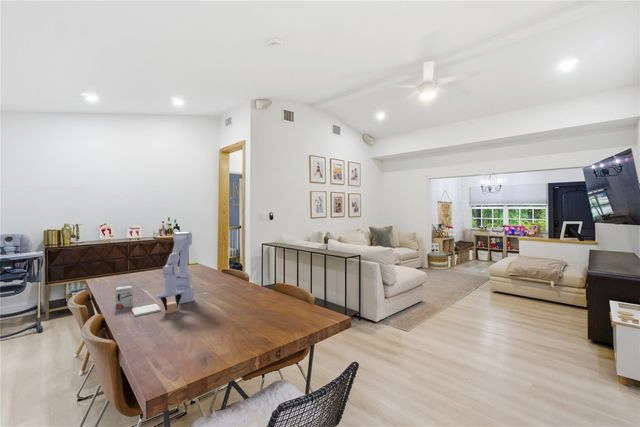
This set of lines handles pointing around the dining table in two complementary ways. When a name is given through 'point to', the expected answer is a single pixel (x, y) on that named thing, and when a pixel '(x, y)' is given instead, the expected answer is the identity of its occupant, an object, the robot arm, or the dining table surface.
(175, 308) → the cube
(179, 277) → the robot arm
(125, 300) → the ink box
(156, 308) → the mat
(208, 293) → the dining table surface
